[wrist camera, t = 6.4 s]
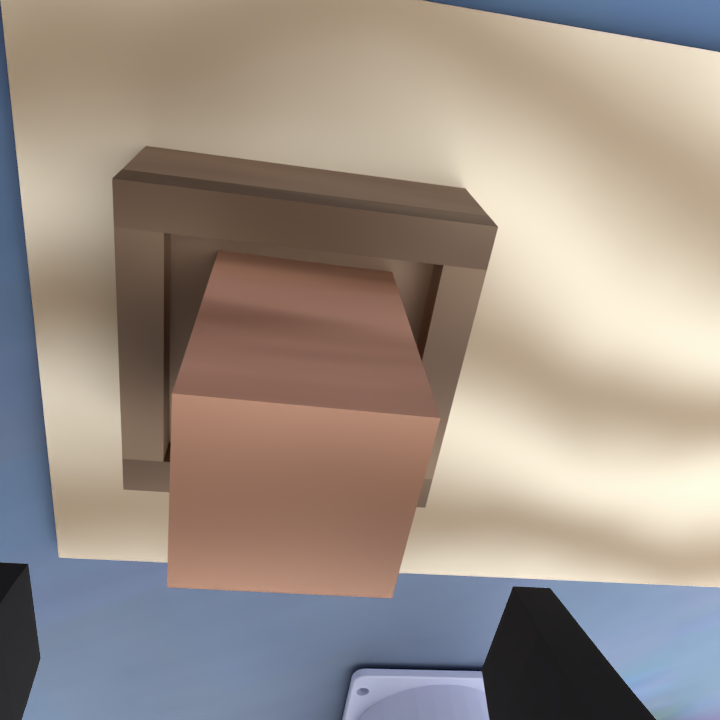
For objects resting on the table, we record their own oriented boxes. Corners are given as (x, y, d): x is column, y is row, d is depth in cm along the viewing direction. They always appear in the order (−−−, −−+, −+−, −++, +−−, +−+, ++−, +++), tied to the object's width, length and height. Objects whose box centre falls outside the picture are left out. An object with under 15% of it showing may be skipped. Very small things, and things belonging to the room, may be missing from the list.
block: (364, 413, 17) (392, 598, 12) (209, 398, 16) (166, 587, 11) (392, 272, 15) (440, 418, 10) (218, 250, 14) (171, 393, 9)
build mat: (719, 575, 26) (780, 660, 23) (64, 544, 22) (23, 640, 19) (997, 101, 17) (1162, 126, 14) (4, -73, 14) (-91, -94, 10)
